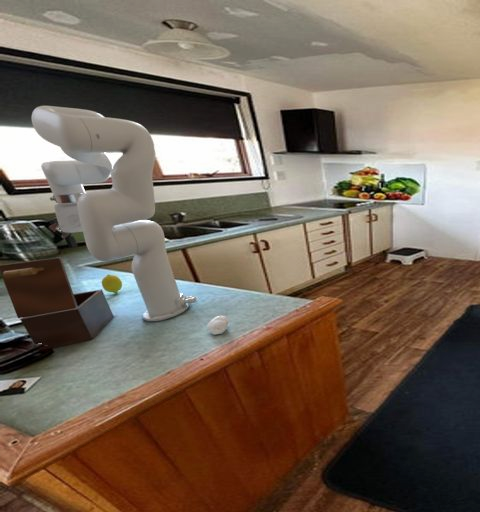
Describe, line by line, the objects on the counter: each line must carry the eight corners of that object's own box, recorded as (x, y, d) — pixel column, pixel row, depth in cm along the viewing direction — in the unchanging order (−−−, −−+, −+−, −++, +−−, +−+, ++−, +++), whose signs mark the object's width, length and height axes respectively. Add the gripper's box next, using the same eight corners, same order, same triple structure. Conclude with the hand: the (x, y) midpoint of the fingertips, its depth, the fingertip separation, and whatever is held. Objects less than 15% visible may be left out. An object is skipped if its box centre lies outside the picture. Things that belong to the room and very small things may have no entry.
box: (68, 325, 87) (53, 297, 84) (114, 316, 92) (102, 289, 88) (38, 350, 76) (19, 319, 72) (92, 339, 80) (77, 308, 76)
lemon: (113, 296, 106) (105, 278, 103) (102, 295, 107) (94, 277, 104) (128, 290, 111) (121, 272, 108) (118, 289, 112) (110, 271, 109)
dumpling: (235, 327, 83) (232, 318, 81) (221, 339, 79) (217, 330, 77) (217, 320, 85) (214, 311, 83) (203, 332, 81) (199, 322, 79)
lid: (0, 265, 70) (-21, 268, 65) (61, 257, 74) (46, 260, 69) (20, 317, 72) (2, 324, 67) (77, 307, 76) (64, 313, 72)
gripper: (29, 202, 88) (53, 252, 94) (99, 198, 95) (117, 244, 101) (45, 199, 95) (66, 246, 101) (109, 195, 101) (125, 239, 107)
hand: (91, 245), depth 101 cm, fingers open, 9 cm apart
